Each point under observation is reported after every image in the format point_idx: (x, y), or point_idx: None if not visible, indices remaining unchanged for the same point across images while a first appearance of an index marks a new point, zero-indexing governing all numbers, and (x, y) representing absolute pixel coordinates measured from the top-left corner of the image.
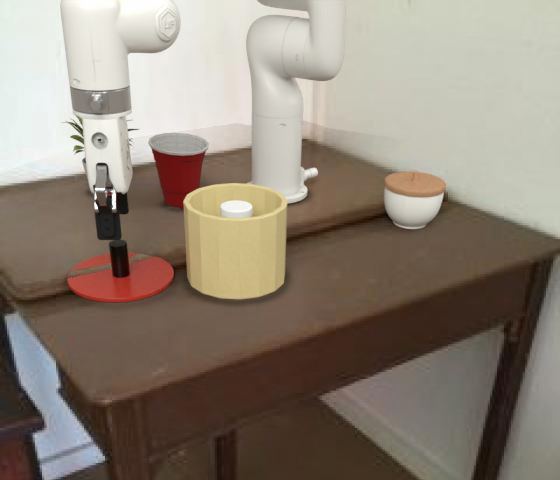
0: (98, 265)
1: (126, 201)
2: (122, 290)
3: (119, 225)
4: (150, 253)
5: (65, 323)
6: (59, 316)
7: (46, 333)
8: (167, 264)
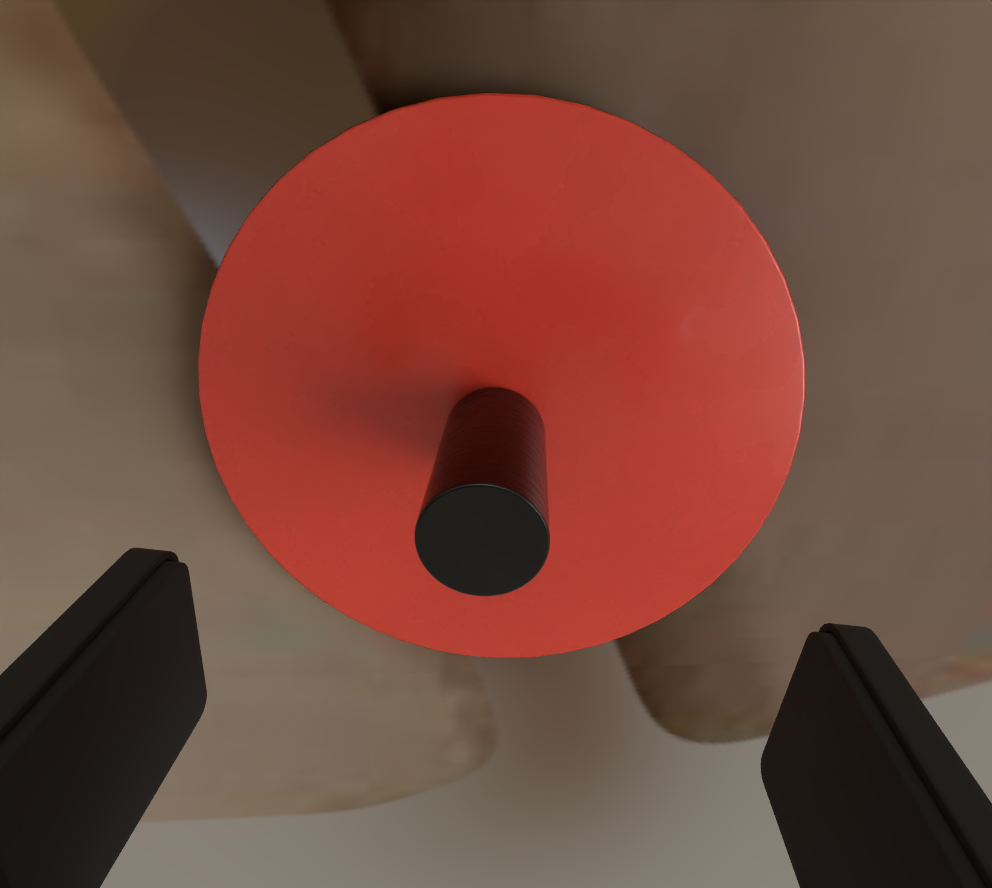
0: (376, 540)
1: (99, 648)
2: (705, 427)
3: (949, 747)
4: (119, 250)
5: None
6: (792, 651)
7: (920, 685)
8: (374, 138)
